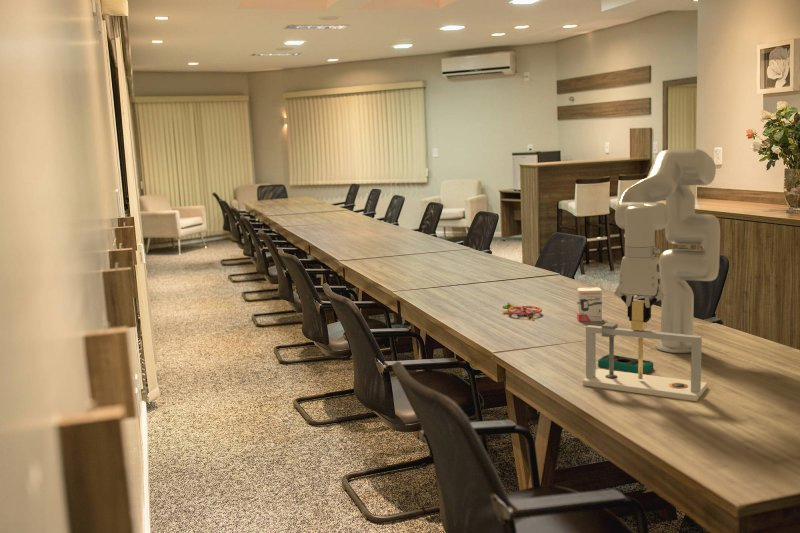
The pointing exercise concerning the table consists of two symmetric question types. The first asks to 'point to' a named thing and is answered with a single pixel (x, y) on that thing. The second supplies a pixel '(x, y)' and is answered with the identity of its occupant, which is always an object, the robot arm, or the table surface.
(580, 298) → the ink box
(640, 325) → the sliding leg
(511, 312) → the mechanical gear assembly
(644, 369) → the digital multimeter
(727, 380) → the table surface
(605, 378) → the white rack frame
